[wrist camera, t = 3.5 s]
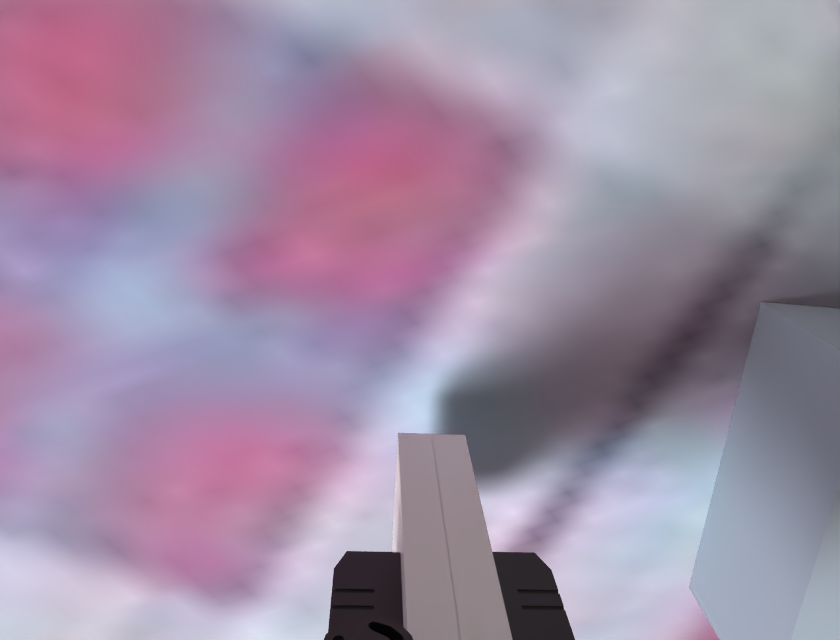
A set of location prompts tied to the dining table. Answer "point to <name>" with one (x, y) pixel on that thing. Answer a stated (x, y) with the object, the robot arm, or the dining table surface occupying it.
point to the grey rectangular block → (778, 488)
